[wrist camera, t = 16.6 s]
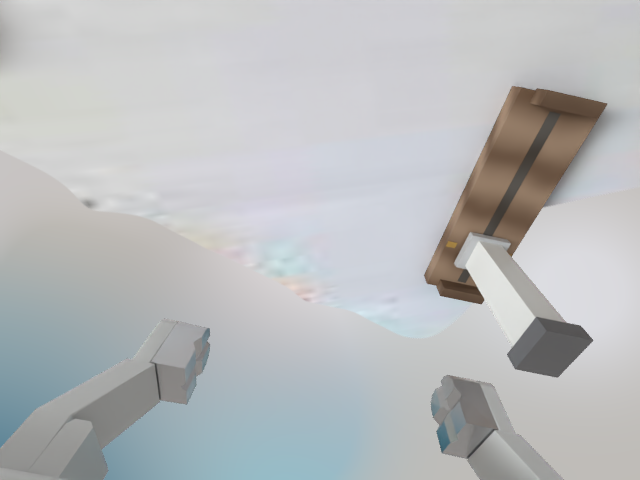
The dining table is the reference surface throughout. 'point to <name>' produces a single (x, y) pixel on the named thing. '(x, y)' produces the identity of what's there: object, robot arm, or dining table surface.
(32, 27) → the dining table surface
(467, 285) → the fader console
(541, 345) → the fader knob
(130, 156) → the dining table surface
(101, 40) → the dining table surface
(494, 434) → the robot arm
